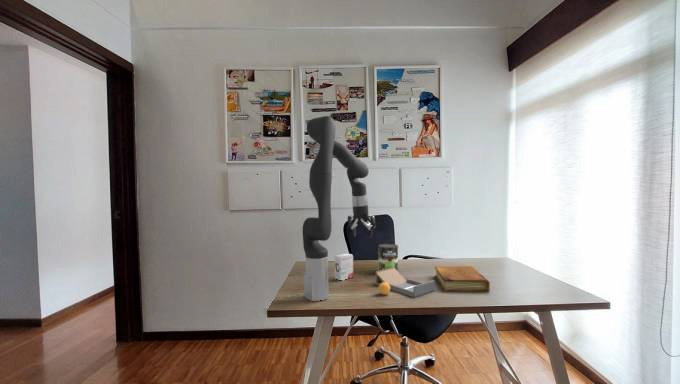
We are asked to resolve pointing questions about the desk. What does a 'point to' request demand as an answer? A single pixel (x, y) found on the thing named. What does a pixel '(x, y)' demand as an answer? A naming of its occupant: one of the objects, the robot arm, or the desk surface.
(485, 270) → the desk surface
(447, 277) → the diary
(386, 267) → the coffee can
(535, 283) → the desk surface
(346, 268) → the ink box
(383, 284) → the ball
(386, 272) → the rolling lane
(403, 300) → the desk surface
